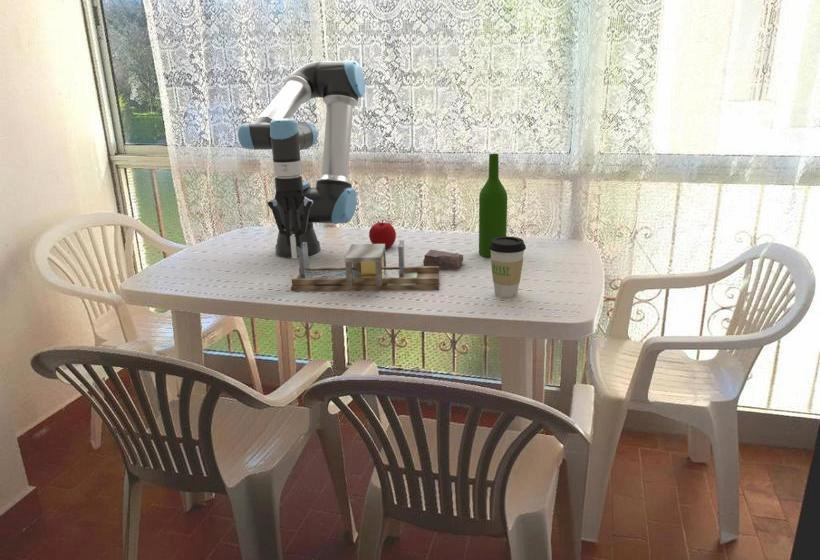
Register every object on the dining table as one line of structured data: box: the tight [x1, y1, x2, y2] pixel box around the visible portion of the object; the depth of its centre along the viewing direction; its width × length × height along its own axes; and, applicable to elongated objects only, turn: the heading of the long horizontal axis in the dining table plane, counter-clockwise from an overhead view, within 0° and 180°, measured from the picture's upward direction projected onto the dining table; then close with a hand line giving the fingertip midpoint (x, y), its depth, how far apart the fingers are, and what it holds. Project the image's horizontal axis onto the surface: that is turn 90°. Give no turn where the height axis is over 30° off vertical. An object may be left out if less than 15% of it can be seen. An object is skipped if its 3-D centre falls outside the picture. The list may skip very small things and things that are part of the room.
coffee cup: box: [489, 235, 527, 298], centre depth 170 cm, size 10×10×15 cm
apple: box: [368, 219, 397, 249], centre depth 217 cm, size 9×9×10 cm
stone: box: [422, 249, 464, 271], centre depth 197 cm, size 9×12×5 cm
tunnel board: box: [290, 243, 440, 292], centre depth 183 cm, size 42×14×10 cm, turn 87°
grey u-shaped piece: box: [298, 240, 406, 279], centre depth 182 cm, size 30×8×10 cm, turn 87°
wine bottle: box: [478, 153, 508, 259], centre depth 201 cm, size 9×9×32 cm
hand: (295, 256), depth 183 cm, fingers closed
